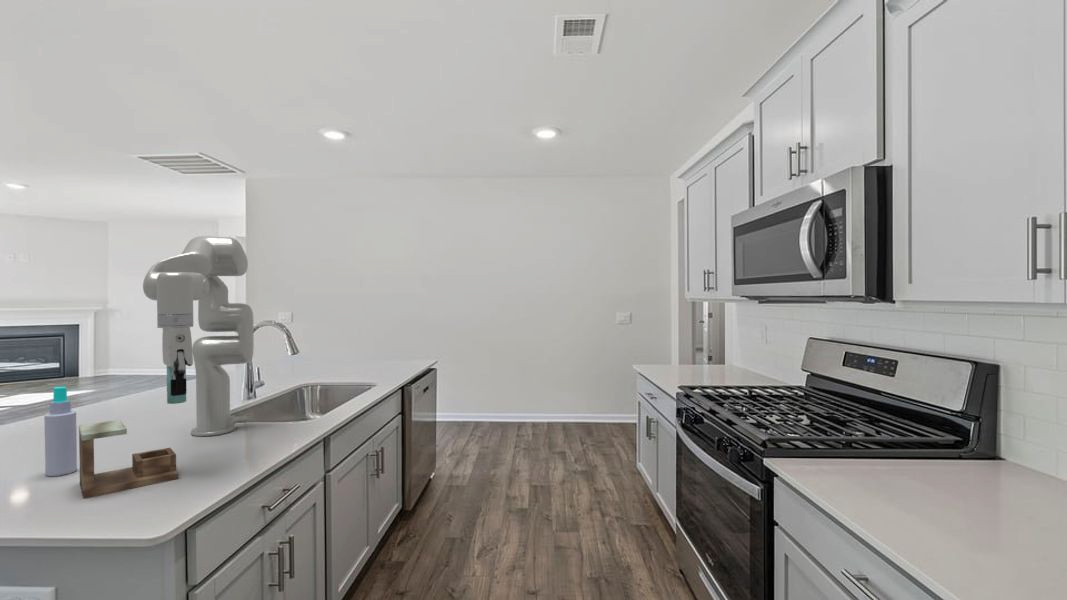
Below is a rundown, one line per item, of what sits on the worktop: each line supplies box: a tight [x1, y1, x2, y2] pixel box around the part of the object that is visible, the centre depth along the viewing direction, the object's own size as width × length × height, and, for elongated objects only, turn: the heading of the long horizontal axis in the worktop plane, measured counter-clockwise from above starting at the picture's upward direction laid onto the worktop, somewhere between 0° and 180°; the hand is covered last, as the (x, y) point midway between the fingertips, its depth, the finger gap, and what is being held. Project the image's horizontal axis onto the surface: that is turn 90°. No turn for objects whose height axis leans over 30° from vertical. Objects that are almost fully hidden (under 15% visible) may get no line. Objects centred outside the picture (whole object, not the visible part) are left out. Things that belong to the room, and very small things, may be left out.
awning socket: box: [78, 419, 179, 499], centre depth 129 cm, size 18×13×14 cm
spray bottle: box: [44, 386, 78, 477], centre depth 134 cm, size 6×6×22 cm
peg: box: [166, 362, 187, 405], centre depth 132 cm, size 4×4×10 cm
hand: (176, 392), depth 132 cm, fingers closed on peg, 4 cm apart
